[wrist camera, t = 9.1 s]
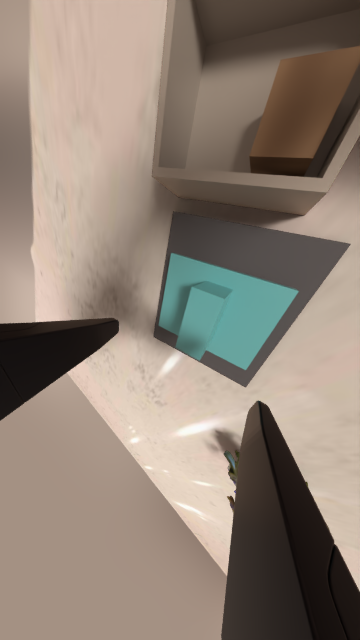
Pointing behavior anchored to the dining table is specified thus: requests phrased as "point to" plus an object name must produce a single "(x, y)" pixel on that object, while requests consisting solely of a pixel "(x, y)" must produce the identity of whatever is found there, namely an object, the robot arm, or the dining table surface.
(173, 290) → the lid
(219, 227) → the rubber mat
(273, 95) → the walnut block
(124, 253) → the dining table surface
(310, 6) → the storage box
